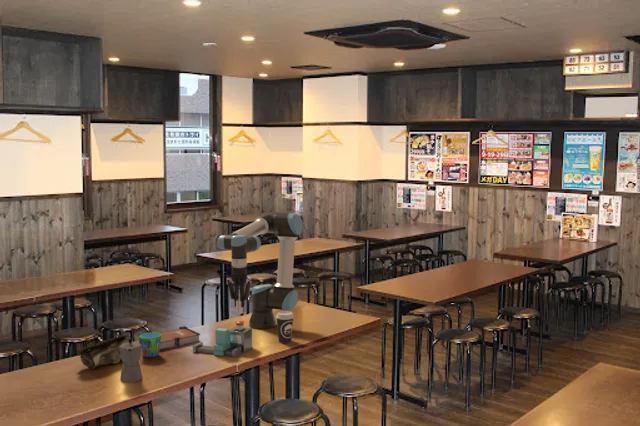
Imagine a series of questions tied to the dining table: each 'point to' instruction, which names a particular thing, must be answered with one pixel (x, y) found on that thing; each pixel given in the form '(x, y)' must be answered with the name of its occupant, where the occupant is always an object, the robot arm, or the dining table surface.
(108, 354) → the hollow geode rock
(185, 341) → the book
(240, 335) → the end cabinet
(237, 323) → the gauge plunger
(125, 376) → the coffeepot
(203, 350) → the rail
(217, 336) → the carriage
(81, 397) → the dining table surface
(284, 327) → the coffee cup
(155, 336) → the snack cup
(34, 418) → the dining table surface
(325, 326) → the dining table surface
